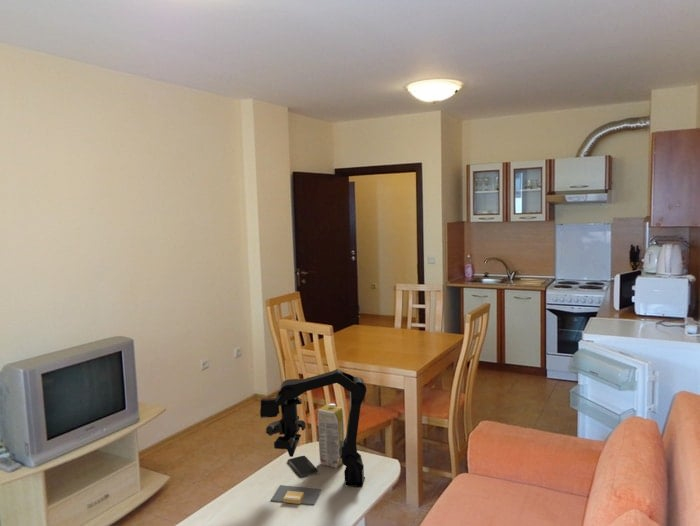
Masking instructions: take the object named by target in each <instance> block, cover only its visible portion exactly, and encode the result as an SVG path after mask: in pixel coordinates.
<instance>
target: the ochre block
mask: <svg viewBox="0 0 700 526" xmlns="http://www.w3.org/2000/svg"><path fill="white" fill-rule="evenodd" d="M303 497H304V492H296V491H287V493H286V495H285V496H284V498H283V502H282V503H285V502H286V503H289V504H295V505H297V504H298V505H301V504H300V502H301V501H302V499H303Z"/></svg>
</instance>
